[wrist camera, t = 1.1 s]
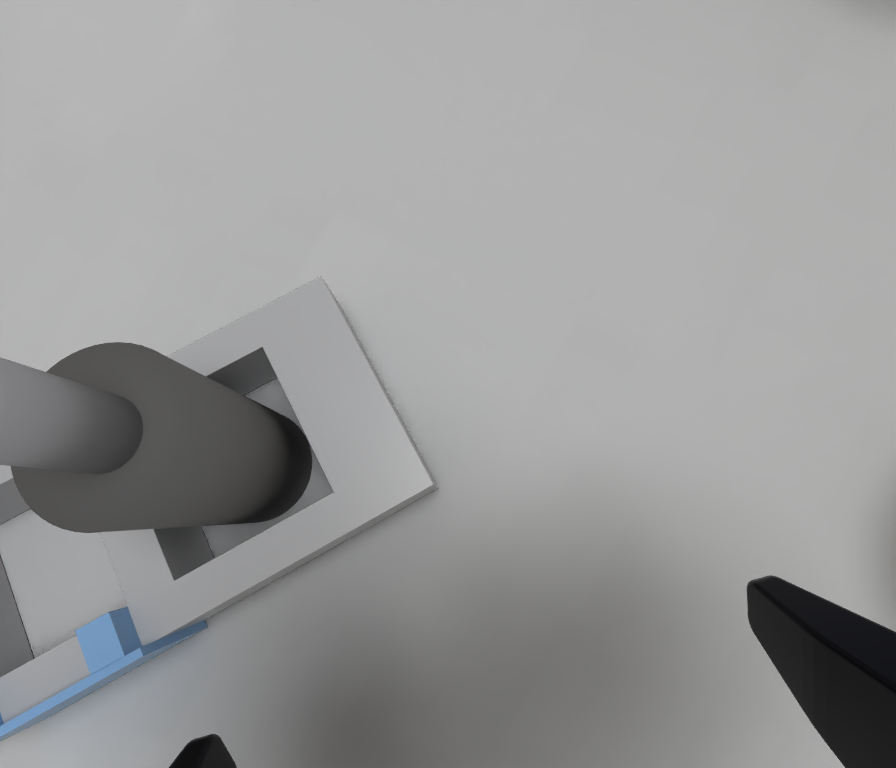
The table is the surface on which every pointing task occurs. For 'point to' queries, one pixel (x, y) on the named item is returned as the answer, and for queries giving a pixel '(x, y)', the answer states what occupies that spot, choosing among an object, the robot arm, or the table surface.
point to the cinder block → (185, 548)
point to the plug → (144, 444)
